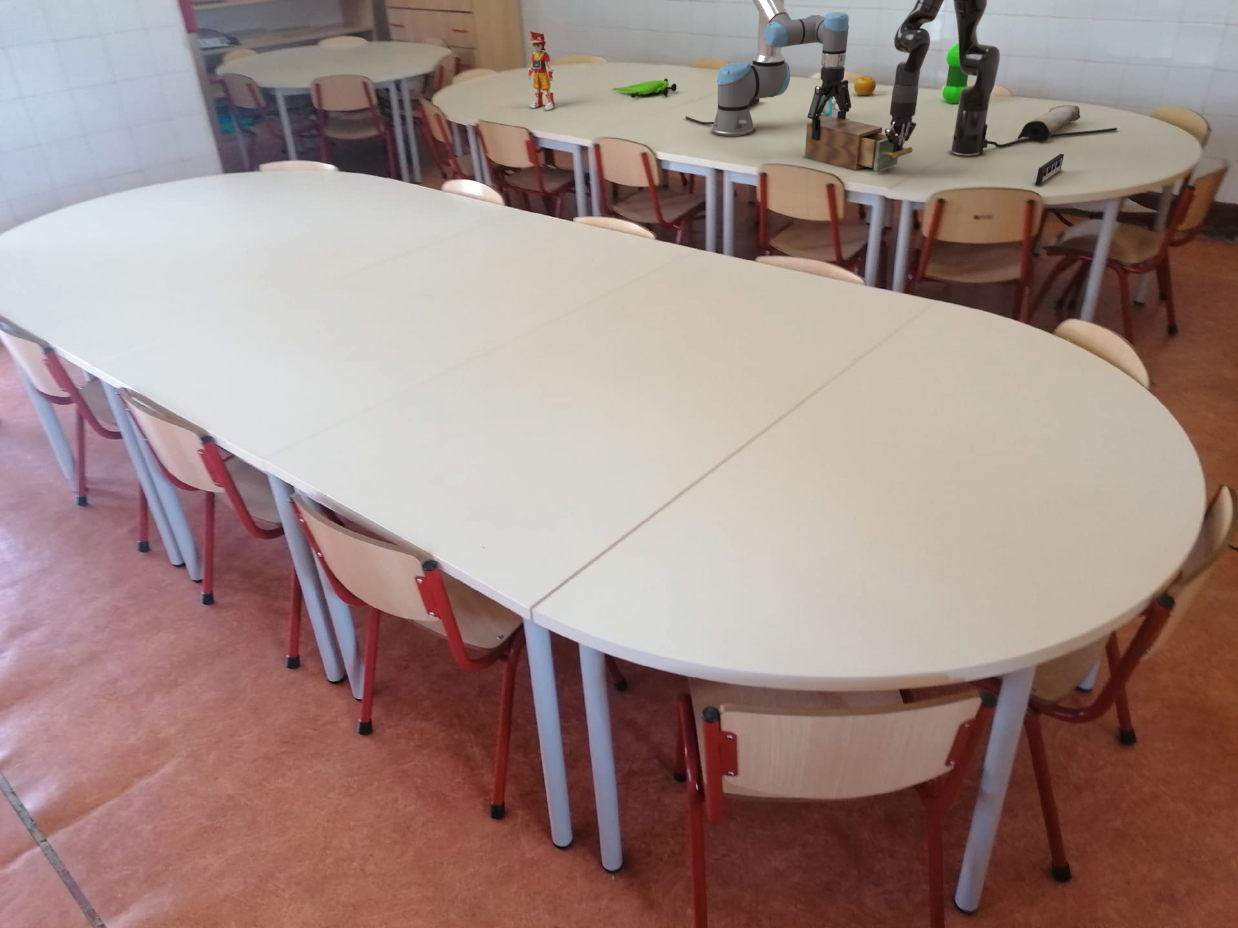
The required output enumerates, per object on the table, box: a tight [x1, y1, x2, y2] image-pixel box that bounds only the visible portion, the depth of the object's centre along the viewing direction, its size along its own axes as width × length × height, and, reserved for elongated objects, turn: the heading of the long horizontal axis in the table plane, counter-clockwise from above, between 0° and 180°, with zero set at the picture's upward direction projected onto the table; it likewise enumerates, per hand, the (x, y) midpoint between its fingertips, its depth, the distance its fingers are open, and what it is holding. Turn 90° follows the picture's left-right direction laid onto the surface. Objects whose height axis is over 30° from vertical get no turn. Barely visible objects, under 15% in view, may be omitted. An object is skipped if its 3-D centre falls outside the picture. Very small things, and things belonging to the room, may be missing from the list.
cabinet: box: [804, 116, 883, 171], centre depth 298 cm, size 22×12×11 cm, turn 38°
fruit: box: [853, 75, 877, 96], centre depth 370 cm, size 8×9×8 cm
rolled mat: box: [1017, 104, 1081, 143], centre depth 313 cm, size 30×9×10 cm
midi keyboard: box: [1035, 153, 1065, 186], centre depth 273 cm, size 18×1×5 cm, turn 138°
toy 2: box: [612, 78, 677, 99], centre depth 396 cm, size 28×5×30 cm
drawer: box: [858, 132, 914, 172], centre depth 290 cm, size 26×10×9 cm, turn 38°
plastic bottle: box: [942, 42, 969, 104], centre depth 348 cm, size 10×10×25 cm
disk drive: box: [749, 99, 760, 108], centre depth 367 cm, size 10×3×15 cm
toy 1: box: [527, 31, 556, 111], centre depth 374 cm, size 12×9×30 cm
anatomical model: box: [821, 97, 851, 120], centre depth 342 cm, size 15×10×10 cm
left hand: (827, 136), depth 301 cm, fingers closed on cabinet, 12 cm apart
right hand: (896, 156), depth 283 cm, fingers closed
